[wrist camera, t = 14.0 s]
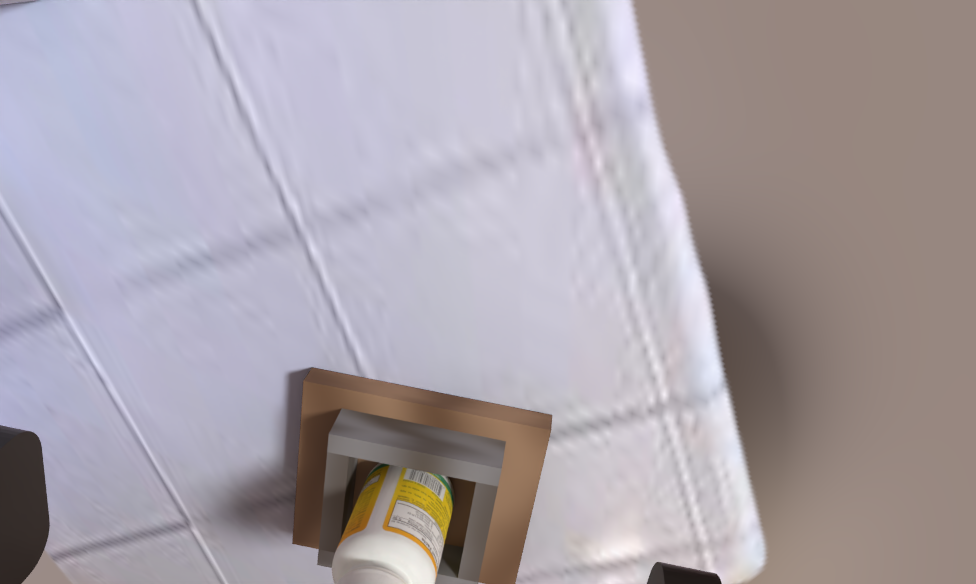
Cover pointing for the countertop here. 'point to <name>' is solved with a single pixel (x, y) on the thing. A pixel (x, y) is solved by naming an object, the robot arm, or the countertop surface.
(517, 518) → the socket stand
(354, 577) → the supplement bottle
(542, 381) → the countertop surface
